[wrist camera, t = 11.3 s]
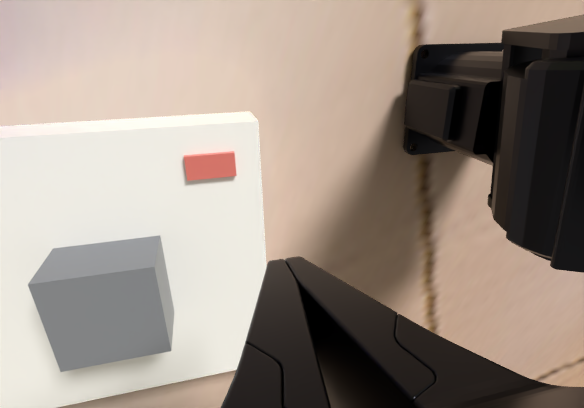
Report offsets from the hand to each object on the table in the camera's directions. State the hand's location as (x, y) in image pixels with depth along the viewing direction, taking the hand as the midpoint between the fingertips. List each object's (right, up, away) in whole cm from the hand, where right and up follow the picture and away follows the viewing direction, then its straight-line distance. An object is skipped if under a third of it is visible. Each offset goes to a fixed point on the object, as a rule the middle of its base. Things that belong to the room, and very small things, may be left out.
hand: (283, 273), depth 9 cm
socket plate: (-10, -1, +13) cm, 16 cm away
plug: (-10, -1, +13) cm, 16 cm away
